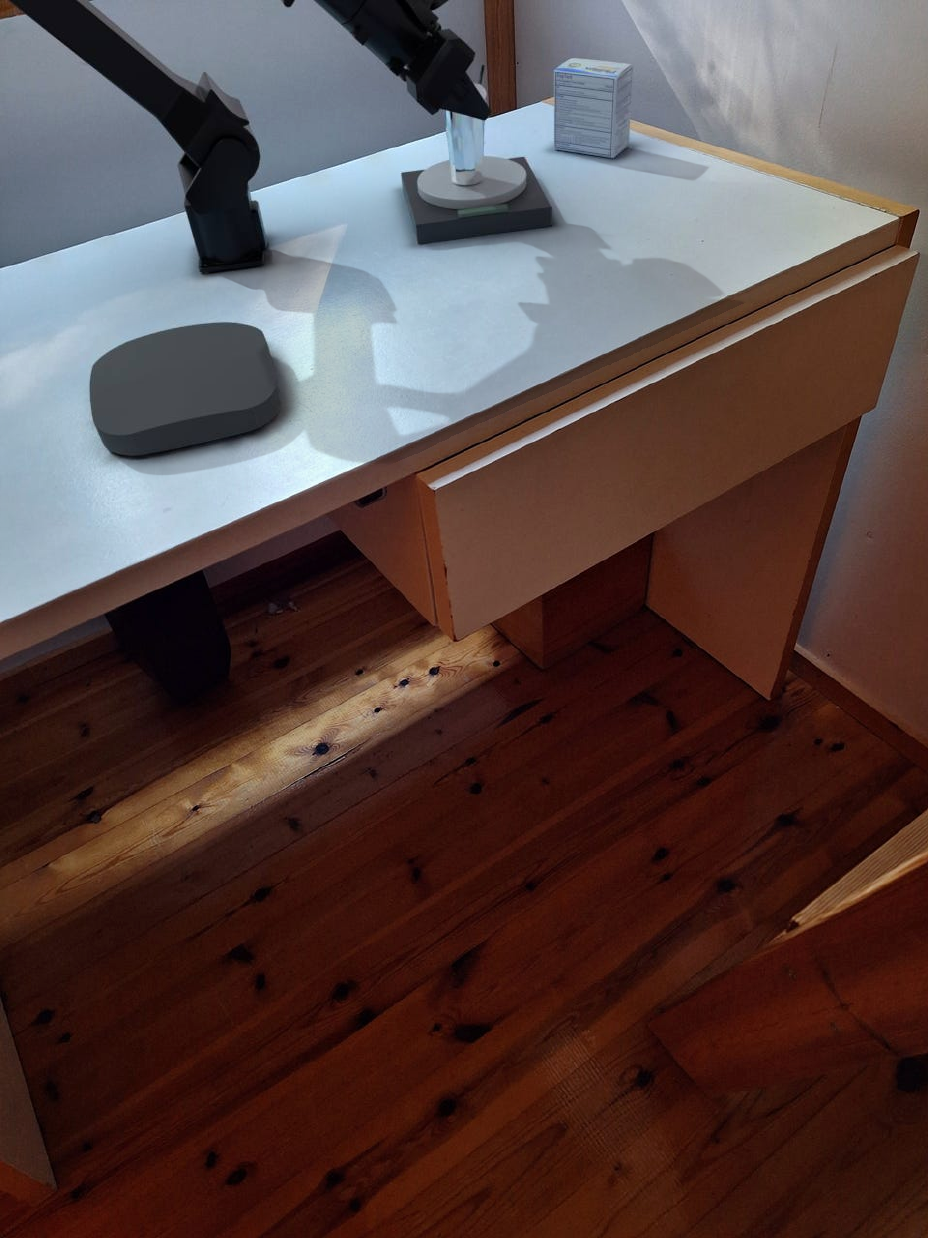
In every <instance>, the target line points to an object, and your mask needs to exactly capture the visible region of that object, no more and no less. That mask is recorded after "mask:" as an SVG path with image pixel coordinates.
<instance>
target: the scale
mask: <svg viewBox="0 0 928 1238" xmlns="http://www.w3.org/2000/svg"><path fill="white" fill-rule="evenodd" d="M400 176H401V185H402V192H403V196H404V198H405V203H406V207H407V211H408V213H409V217H410V221H411V224H412V228H413V231H414V235H415V238H416V242H417V244H418V245H421V244H422V245H423V244H429V243H430V244H431V243H436V242H444V241H452V240H459V239H465V238H467V239H468V238H473V237H481V236H488V235H497V234H502V233H503V234H504V233H512V232H518V231H524V230H533V229H540V228H548V227H552V225H553V215H552V214H553V207H552V205H551V203H550V201H549V199H548V197H547V196H546V194H545V192H544V190H543V188H542V186H541V184H540V183H539V181H538V179H537V177H536V175H535V174H534V172H533V170H532V168H531V167H530V165H529V162H528V160H527V159H526V157H525V156H519V157H510V158H504V157H499V156H491V155H484V163H483V179H482V181H481V182H479V183H477V184H474V185H458V184H456V183H454V182H453V181H452V175H451V167H450V160H449V159H447V160H443V161H441V162H437V163H435V164H433V165H431V166H429V167H427V168H426V169H419V170H410V171H403V172H401V173H400Z"/></svg>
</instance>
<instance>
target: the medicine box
mask: <svg viewBox="0 0 928 1238" xmlns="http://www.w3.org/2000/svg"><path fill="white" fill-rule="evenodd" d="M633 69H634V66H633V65H632V63H623V62H615V61H607V60H596V59H588V58H578V57H577V58H576V57H572V58H570V59H568V60H566V61H565V62H563V63H561V64H559V65H558V66H557V67H556V68H554V70H553V149H554V150H559V151H564V152H572V153H577V154H578V153H579V154H584V155H590V156H591V155H592V156H597V157H602V158H603V157H604V158H611V159H614V158H615V157H616V156H618V155H619V154H620V153H621V152H623V151H624V149H626V148H627V147H628V146H629V145H630V134H631V133H630V132H631V131H630V130H631V112H632V111H631V110H632V92H633V91H632V90H633V75H634V70H633Z"/></svg>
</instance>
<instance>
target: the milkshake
mask: <svg viewBox="0 0 928 1238" xmlns="http://www.w3.org/2000/svg"><path fill="white" fill-rule="evenodd" d="M485 69H486V64H481V67H480V72H479V76H478V82H477V83H475V82H473V83H474V85H475V86H476V88H477V89H478V91H479V93H480V94H481V96H482V97H483V99H484V100H485V102H486V103H487V94H488V93H487V90H486V88H485V87H484V86H483V79H484V74H485ZM442 115H443V120H444V121H443V122H444V127H445V128H444V129H445V136H446V142H447V151H448V158H449V159H448V160H450V167H451V175H452V181H453V182H454V183H456V184H458V185H474V184H477V183H479V182H481V181H482V179H483V163H484V156H485V125H486V120H485V121H483V120H480V119H476V118H472V117H469V116H465V115H462V114H458V113H454V112H450V111H446V110H442Z"/></svg>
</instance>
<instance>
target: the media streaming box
mask: <svg viewBox="0 0 928 1238" xmlns="http://www.w3.org/2000/svg"><path fill="white" fill-rule="evenodd" d="M89 404H90V413H91V417H92V418H91V419H92V422H93V425H94V426H95V427H94V428H95V429H96V432H97V434H98V436H99V438H100V441H101V443H102V445H103V446H104V448H106V449H107V450H109V451H110V452H112V453H115V454H118V455H123V456H144V455H148V454H155V453H159V452H165V451H170V450H174V449H179V448H183V447H189V446H193V445H197V444H202V443H206V442H211V441H212V442H213V441H216V440H219V439H224V438H227V437H232V436H236V435H241V434H243V433H244V434H245V433H248V432H251V431H254V430H257V429H259V428H261V427H263V426H265V424H266V425H267V423H269V422H270V421H272V420H273V419H274V418H275V417H276V416H277V414H278V413H279V412H280V410H281V407H282V398H281V393H280V387H279V384H278V379H277V375H276V371H275V368H274V363H273V359H272V356H271V352H270V348H269V345H268V342H267V339H266V336H265V335H264V332H263V331H262V330H261V329H260V328H258V327H256V326H253V325H250V324H246V323H240V322H231V321H219V322H205V323H197V324H190V325H184V326H177V327H173V328H169V329H168V328H167V329H164V330H160V331H156V332H153V333H148V334H146V335H143V336H139V337H137V338H134V339H131V340H128V341H125V342H123V343H121V344H119V345H118V346H116V347H113V348H112V349H110V350H109V351H107V352H106V353H104V354H103V355H102V356H100V357H99V358H98V359H97V360H96V361H95V362H94V363H93V364H92V365H91V370H90V376H89Z"/></svg>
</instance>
